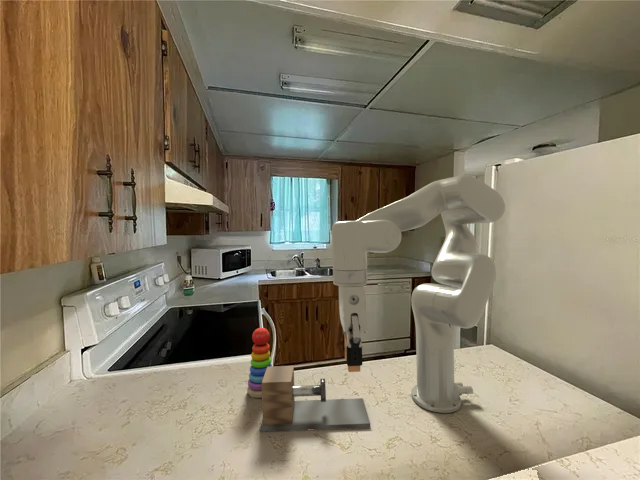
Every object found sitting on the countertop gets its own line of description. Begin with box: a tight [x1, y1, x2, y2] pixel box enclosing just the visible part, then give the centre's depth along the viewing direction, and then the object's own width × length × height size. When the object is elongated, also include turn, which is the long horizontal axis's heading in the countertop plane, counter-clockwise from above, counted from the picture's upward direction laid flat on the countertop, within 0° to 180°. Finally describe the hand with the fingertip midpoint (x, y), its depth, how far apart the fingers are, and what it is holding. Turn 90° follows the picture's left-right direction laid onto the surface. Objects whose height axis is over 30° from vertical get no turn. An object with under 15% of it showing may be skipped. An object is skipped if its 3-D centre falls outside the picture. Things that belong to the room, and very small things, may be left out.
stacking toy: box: [246, 327, 273, 399], centre depth 81 cm, size 8×8×19 cm
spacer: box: [343, 333, 361, 373], centre depth 61 cm, size 2×6×6 cm, turn 2°
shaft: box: [292, 378, 327, 402], centre depth 69 cm, size 16×5×5 cm, turn 91°
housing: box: [259, 365, 371, 433], centre depth 70 cm, size 26×10×11 cm, turn 91°
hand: (352, 357), depth 61 cm, fingers closed on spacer, 6 cm apart
